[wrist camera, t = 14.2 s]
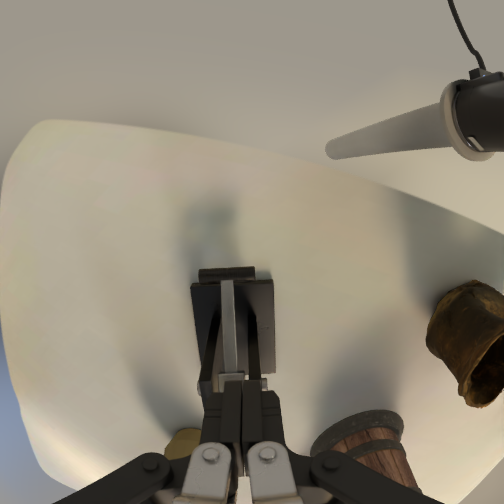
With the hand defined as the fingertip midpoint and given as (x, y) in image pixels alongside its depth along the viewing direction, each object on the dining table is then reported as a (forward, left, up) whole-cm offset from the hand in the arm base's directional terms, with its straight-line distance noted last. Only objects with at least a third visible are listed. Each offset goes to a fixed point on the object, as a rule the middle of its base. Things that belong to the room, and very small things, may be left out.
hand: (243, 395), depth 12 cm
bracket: (+9, -2, -22) cm, 24 cm away
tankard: (+37, +15, -22) cm, 45 cm away
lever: (+5, -2, -14) cm, 15 cm away
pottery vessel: (+10, +30, -22) cm, 39 cm away
